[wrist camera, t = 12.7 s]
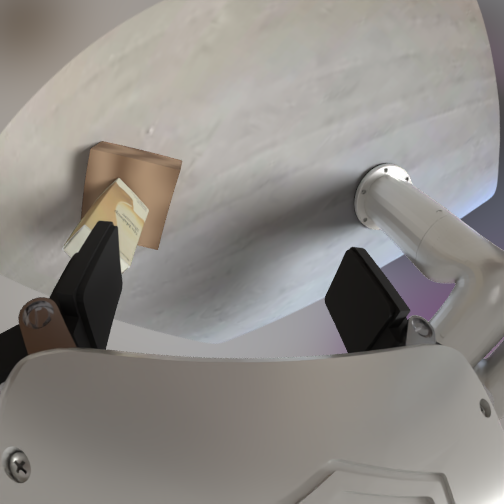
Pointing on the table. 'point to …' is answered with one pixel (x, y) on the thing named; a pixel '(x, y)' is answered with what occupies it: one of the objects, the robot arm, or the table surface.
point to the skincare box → (120, 213)
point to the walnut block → (134, 182)
